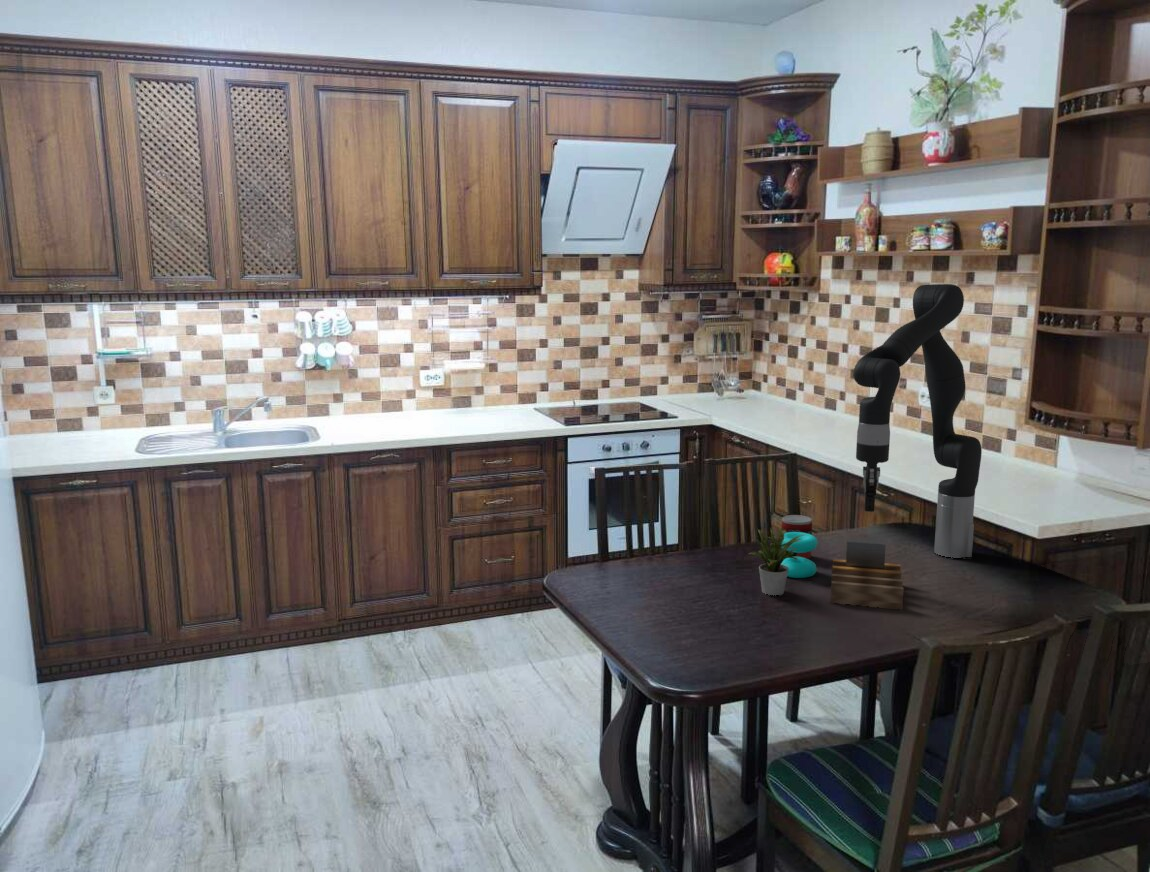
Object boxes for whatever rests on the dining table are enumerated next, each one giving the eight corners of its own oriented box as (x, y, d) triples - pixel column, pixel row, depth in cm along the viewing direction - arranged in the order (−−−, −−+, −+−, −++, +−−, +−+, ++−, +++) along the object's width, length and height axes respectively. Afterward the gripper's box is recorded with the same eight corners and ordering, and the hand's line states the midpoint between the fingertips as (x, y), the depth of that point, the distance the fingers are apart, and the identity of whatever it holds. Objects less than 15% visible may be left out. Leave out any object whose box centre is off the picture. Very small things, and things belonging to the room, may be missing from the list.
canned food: (775, 554, 251) (776, 516, 249) (801, 551, 253) (802, 513, 251) (790, 563, 244) (791, 523, 242) (816, 560, 246) (817, 520, 244)
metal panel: (883, 580, 225) (885, 541, 224) (883, 583, 223) (885, 544, 221) (845, 577, 228) (847, 538, 226) (845, 580, 226) (847, 541, 224)
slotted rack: (899, 584, 226) (900, 564, 226) (902, 609, 210) (903, 588, 209) (832, 578, 231) (833, 559, 230) (830, 603, 215) (831, 581, 214)
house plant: (805, 606, 213) (808, 539, 210) (745, 602, 216) (747, 536, 213) (803, 585, 227) (805, 522, 223) (746, 582, 229) (748, 519, 226)
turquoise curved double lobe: (780, 541, 230) (775, 530, 239) (779, 579, 231) (774, 566, 241) (820, 542, 229) (814, 530, 238) (819, 580, 230) (813, 567, 240)
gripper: (890, 447, 212) (886, 519, 215) (888, 436, 224) (884, 505, 227) (856, 445, 214) (853, 516, 217) (856, 435, 226) (853, 503, 229)
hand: (869, 510), depth 222 cm, fingers closed
